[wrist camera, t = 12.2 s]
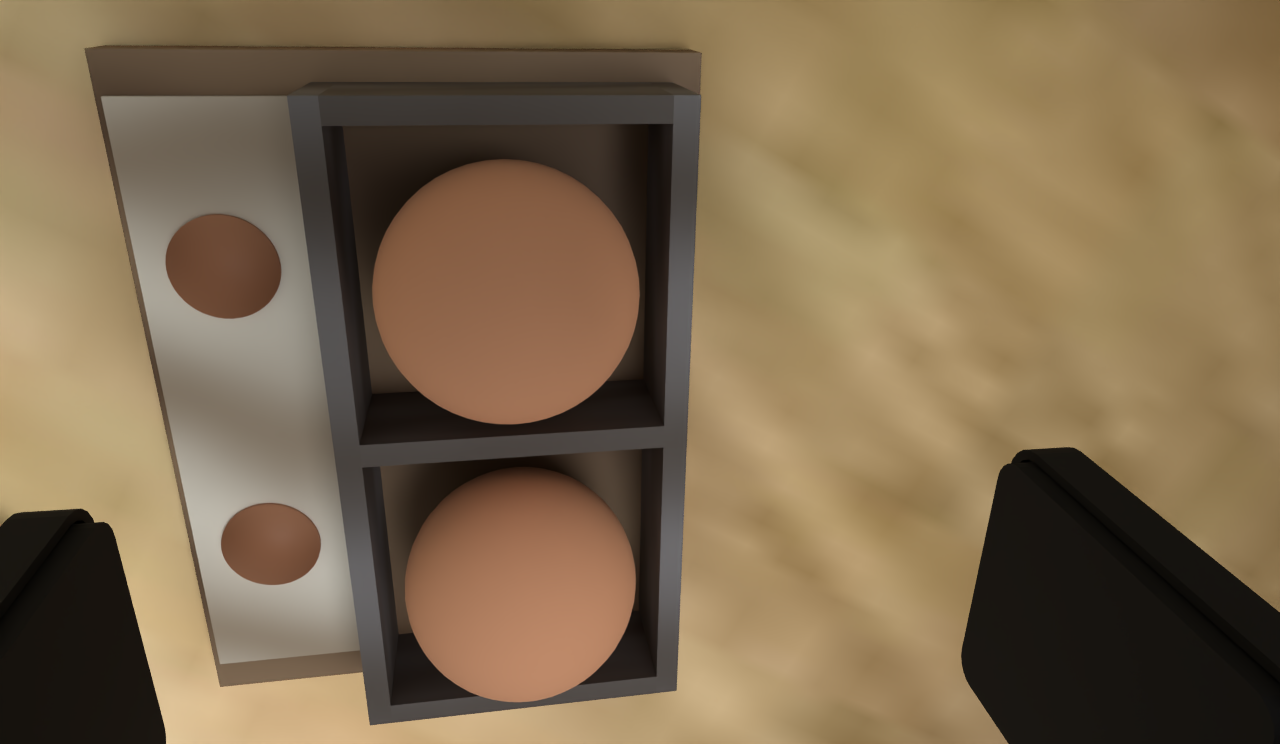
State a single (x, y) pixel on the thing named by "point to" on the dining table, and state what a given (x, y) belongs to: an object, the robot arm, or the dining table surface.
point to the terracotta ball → (505, 291)
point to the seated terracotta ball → (520, 584)
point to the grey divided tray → (352, 345)
